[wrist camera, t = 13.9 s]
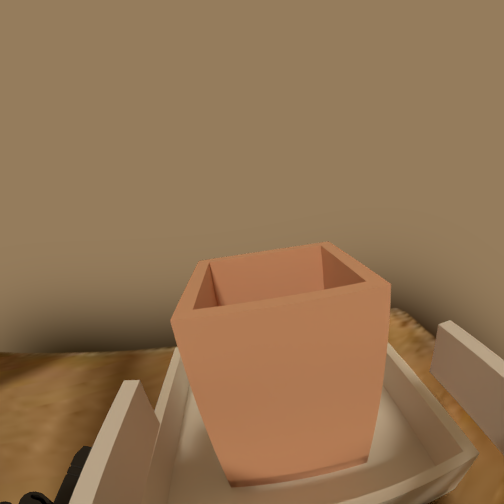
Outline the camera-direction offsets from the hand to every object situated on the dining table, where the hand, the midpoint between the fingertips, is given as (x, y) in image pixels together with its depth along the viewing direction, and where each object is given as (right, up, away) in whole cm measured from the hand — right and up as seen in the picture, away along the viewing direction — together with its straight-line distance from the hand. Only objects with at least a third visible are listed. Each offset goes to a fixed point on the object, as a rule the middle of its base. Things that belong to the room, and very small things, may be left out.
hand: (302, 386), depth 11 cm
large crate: (+1, -9, +8) cm, 12 cm away
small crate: (+1, -8, +8) cm, 11 cm away
